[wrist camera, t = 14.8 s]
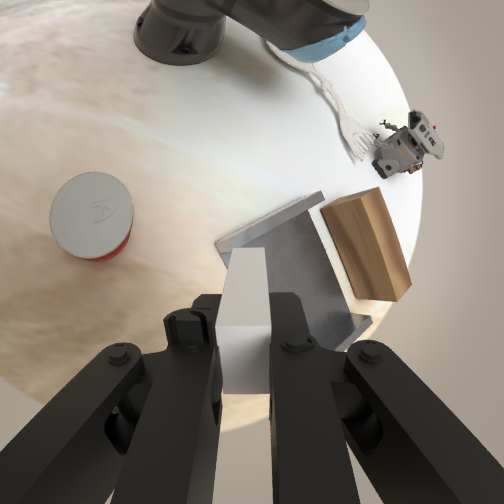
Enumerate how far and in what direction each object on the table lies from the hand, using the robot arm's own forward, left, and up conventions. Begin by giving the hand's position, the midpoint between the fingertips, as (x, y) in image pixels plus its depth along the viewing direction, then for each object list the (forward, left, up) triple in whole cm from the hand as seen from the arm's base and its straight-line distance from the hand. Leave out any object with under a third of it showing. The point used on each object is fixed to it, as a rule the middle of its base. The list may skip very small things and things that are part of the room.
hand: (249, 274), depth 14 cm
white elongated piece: (-43, +2, -24) cm, 49 cm away
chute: (-8, +17, -23) cm, 30 cm away
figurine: (-43, +21, -24) cm, 53 cm away
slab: (-19, +23, -23) cm, 38 cm away
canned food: (+1, -10, -24) cm, 26 cm away
